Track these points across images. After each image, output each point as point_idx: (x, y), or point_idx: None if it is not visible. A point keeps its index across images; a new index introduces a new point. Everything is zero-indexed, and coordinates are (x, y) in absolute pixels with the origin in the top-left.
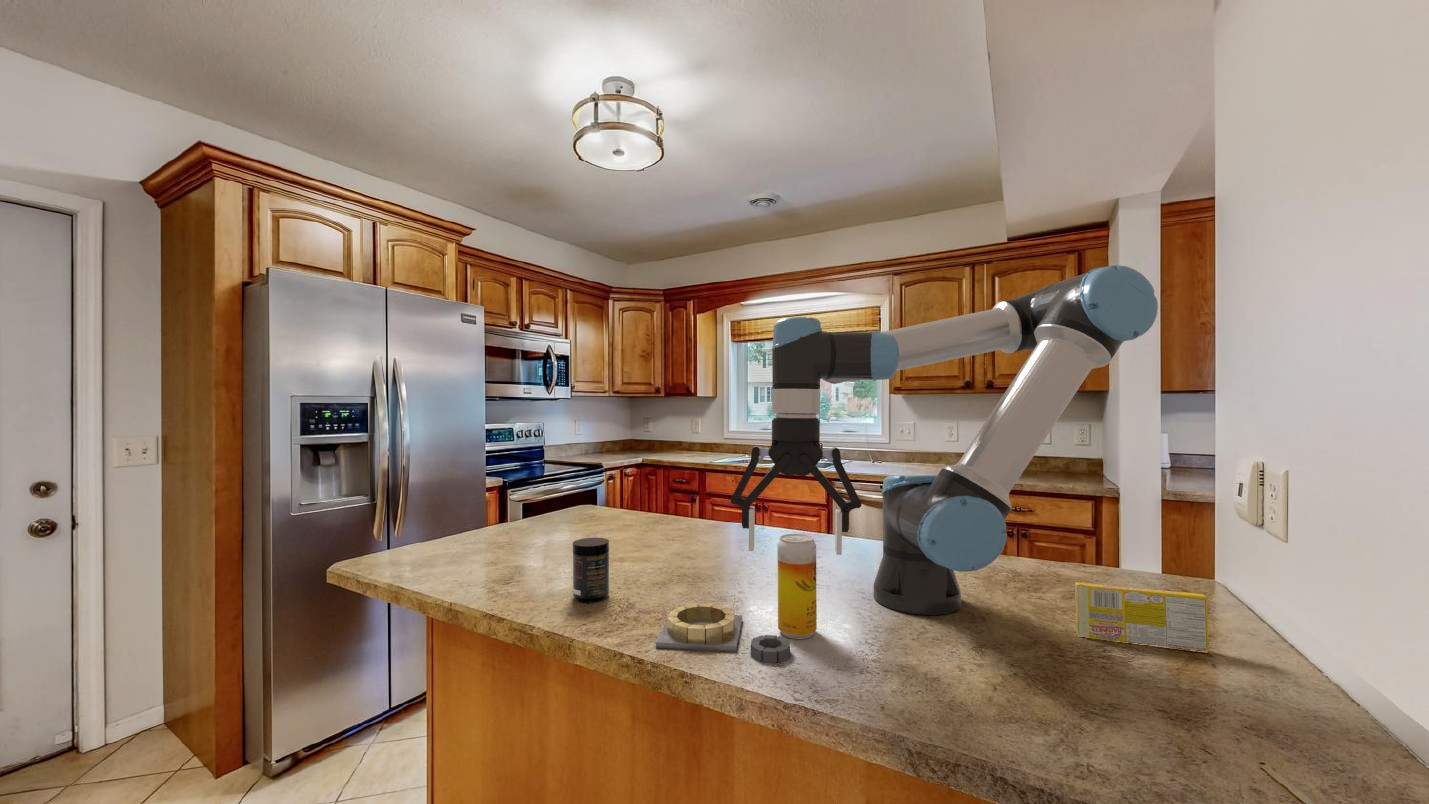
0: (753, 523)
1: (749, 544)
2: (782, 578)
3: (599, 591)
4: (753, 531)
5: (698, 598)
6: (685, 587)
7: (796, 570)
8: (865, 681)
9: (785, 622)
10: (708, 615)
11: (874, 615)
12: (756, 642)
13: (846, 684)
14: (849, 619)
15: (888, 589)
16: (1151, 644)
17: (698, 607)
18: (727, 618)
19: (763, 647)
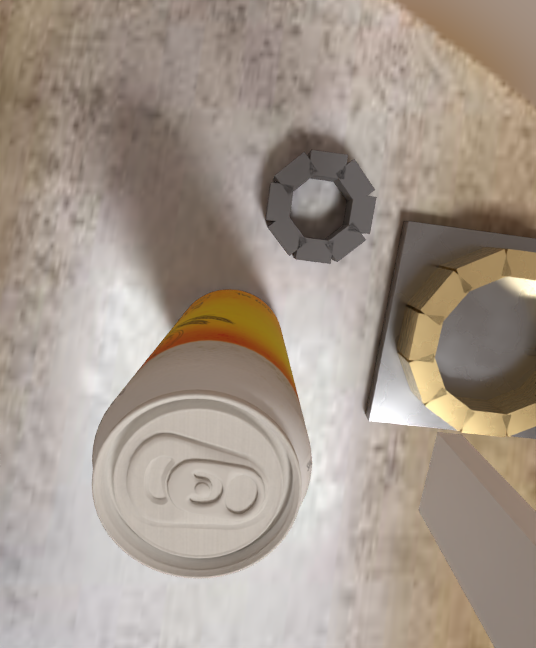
0: (527, 536)
1: (473, 453)
2: (282, 355)
3: None
4: (493, 496)
5: None
6: None
7: (226, 332)
8: (95, 41)
9: (267, 309)
10: (466, 401)
11: (4, 446)
12: (358, 212)
13: (147, 26)
14: (77, 420)
15: None
16: None
17: (505, 412)
18: (434, 324)
19: (343, 181)
